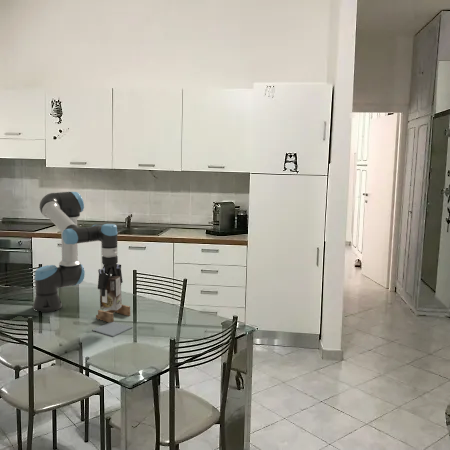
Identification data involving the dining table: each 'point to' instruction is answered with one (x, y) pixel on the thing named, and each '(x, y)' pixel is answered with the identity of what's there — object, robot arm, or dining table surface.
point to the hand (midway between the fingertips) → (110, 299)
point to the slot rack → (108, 314)
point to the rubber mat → (112, 329)
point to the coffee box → (112, 294)
